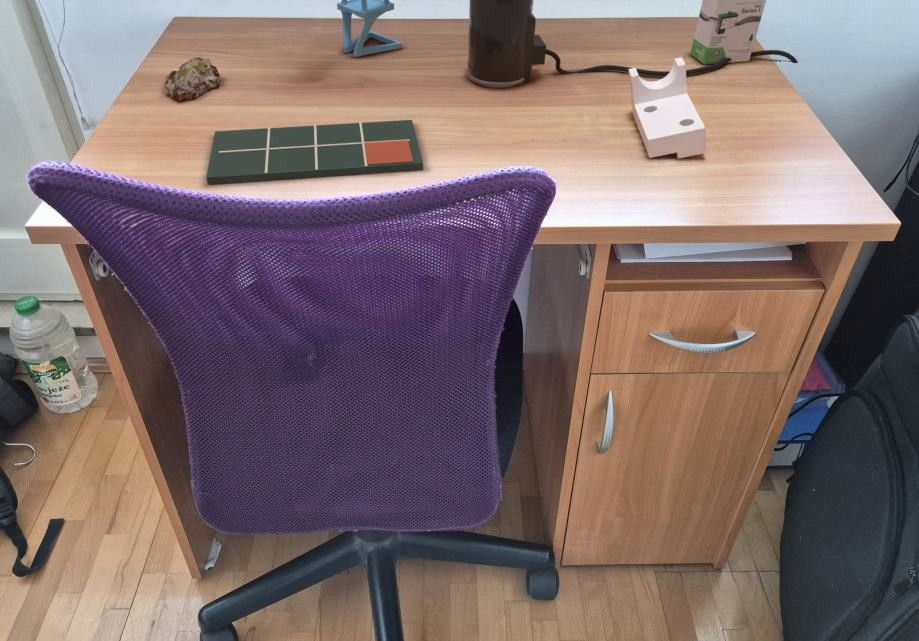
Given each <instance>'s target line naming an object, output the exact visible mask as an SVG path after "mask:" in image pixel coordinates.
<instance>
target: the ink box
mask: <svg viewBox="0 0 919 641" xmlns="http://www.w3.org/2000/svg"><path fill="white" fill-rule="evenodd" d="M766 3H767V0H702V2H701V6H700V10H699V14H698V17H697V18H698V19H697V23H696V28H695V31H694V35H693V40H692V44H691V48H690V52H689V54H690V55H691V56H692V57H693V58H695V59H696V60H697V61H699V62H700V63H702V65H713V64H716V63H718V62H720V61H722V60H724V59H726V58H731V59H732V60H731V61H730V62H728V63H740V62H741V63H742V62H749V61H750V60H751V57H750V56H751V52H753V49H754V44H755V41H756V38H757V35H758V32H759V28H760V24H761V20H762V16H763V14H764V10H765V6H766ZM728 63H727V64H728Z"/></svg>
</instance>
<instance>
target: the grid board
mask: <svg viewBox="0 0 919 641" xmlns="http://www.w3.org/2000/svg"><path fill="white" fill-rule="evenodd" d="M422 170H424V161H423V157H422V152H421V150H420V145H419V141H418V138H417V133H416V130H415V127H414V122H413V119H403V120H384V121H367V122H362V121H358V122H350V123H334V124H333V123H332V124H316V123H315V124H313V125H300V126H284V127H283V126H282V127H270V126H269V127H267V128H265V127H264V128H248V129H246V128H245V129H234V130H233V129H230V130H215V131H214V135H213V141H212V146H211V151H210V156H209V162H208V166H207V171H206V177H205V179H206V183H207V185H217V184H218V185H219V184H232V183H246V182H249V183H250V182H262V181H264V182H265V181H276V180H279V181H280V180H291V179H305V178H320V177H321V178H322V177H335V176H349V175H351V176H352V175H363V174H378V173H379V174H380V173H393V172H406V171H409V172H410V171H422Z"/></svg>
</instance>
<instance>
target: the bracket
mask: <svg viewBox="0 0 919 641" xmlns="http://www.w3.org/2000/svg"><path fill="white" fill-rule="evenodd" d="M630 68H631V69H628V70H629V72H628V79H629V88H630V89H629V90H630V100H631V111H632V115H633V118H634V121H635V124H636V127H637V128H638V131H639V134H640V137H641V139H642V142H643V145H644V147H645V150H646V153H647V156H648V158H649V159H652V158H656V157H662V156H666V155H671V154H675V155H676V157H677V160H678V159H683V158H687V157H688V158H689V157H692V156H698V155H702V154H706V153H707V135H706V133H707V132H706V131H707V130H706V126H705V124H704V122H703V121H702V118H701V116H700V115H699V113H698V111H697V109H696V107H695V105H694V104H693V103H694V102H692V100H691V98H690V96H689V93H688V87H687V75H686V70H687V65H686V62H685V60H684V59H683V57H682V56H680V57H675V58H674V59H673V65H672V67H671V70H669V71H670V73H669V74H668V75H667V76H663V78H661V79H659V80H655V81H649V80H645V79H643V78H642V77H641V76H640V74H638V72H637V70H636V69H637V68H636V67H630Z"/></svg>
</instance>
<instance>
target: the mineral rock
mask: <svg viewBox="0 0 919 641" xmlns="http://www.w3.org/2000/svg"><path fill="white" fill-rule="evenodd" d="M220 81H221V79H220V72H219V70H218V68H217V66H216V65H214V62H212V61H211V59H209V58H208V57H203V56H202V57H200V56H195V57H194V58H190V59H187V60H186V62H184V63H182V64H181V65H180V66H179V67H178V70H172V71H171V72H170V73H169V74H167V75H166V77H165V83H164V86H165V90H164V92H165V93H166V94H167V95H170V97H171V98H173V99H176V100H177V99H178V100H179V102H183V101H185V100H193V99H196V98H198V97H200V96H203V95H204V94H205V93H206V92H207V91H209V90H212V89H216V88H217V87H219V85H220Z"/></svg>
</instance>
